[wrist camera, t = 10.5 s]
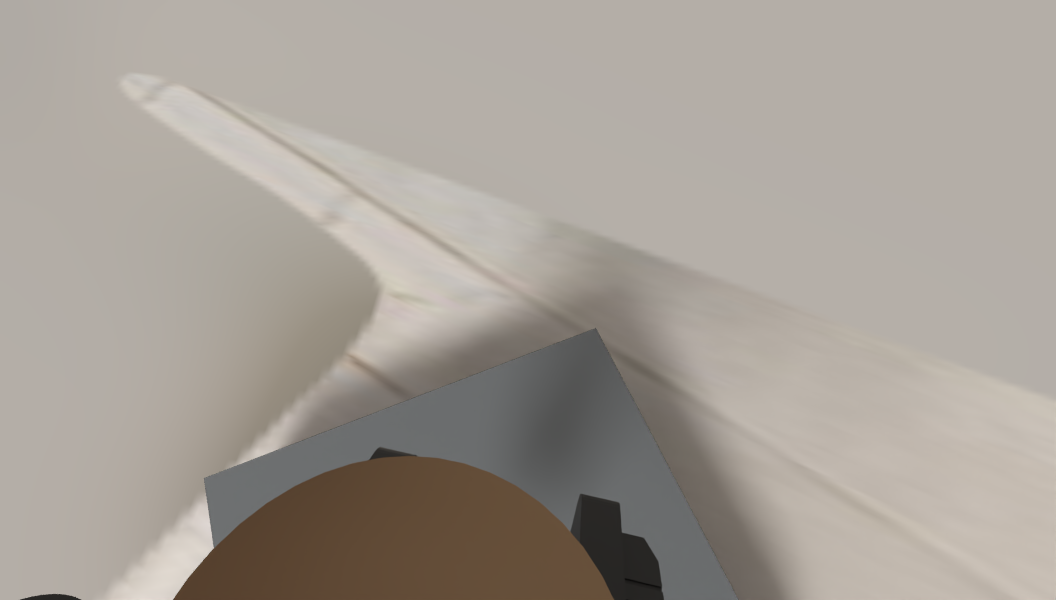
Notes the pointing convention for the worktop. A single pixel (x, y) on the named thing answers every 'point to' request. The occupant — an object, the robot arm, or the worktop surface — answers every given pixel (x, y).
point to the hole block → (515, 454)
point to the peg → (399, 541)
